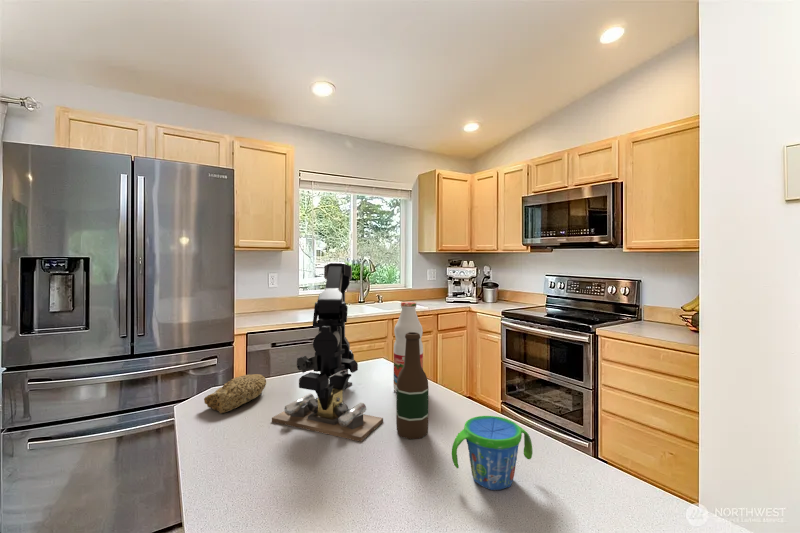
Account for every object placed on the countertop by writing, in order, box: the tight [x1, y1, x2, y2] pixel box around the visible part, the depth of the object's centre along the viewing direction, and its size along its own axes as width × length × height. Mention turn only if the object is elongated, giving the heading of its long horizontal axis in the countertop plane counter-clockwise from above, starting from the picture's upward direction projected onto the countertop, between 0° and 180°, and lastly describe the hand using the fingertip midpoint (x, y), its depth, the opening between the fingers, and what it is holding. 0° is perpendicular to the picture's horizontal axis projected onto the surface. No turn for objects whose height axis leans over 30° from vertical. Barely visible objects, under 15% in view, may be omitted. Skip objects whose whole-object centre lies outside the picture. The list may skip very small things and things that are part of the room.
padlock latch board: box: [271, 403, 384, 442], centre depth 96 cm, size 12×26×4 cm, turn 67°
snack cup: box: [451, 415, 533, 491], centre depth 71 cm, size 16×10×10 cm
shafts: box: [283, 393, 367, 427], centre depth 95 cm, size 9×18×4 cm, turn 67°
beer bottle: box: [395, 332, 429, 440], centre depth 90 cm, size 8×8×24 cm
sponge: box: [203, 373, 267, 414], centre depth 111 cm, size 13×8×20 cm
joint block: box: [317, 388, 344, 419], centre depth 98 cm, size 5×4×6 cm
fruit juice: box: [393, 301, 424, 392], centre depth 120 cm, size 9×9×28 cm
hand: (330, 406), depth 97 cm, fingers open, 5 cm apart
